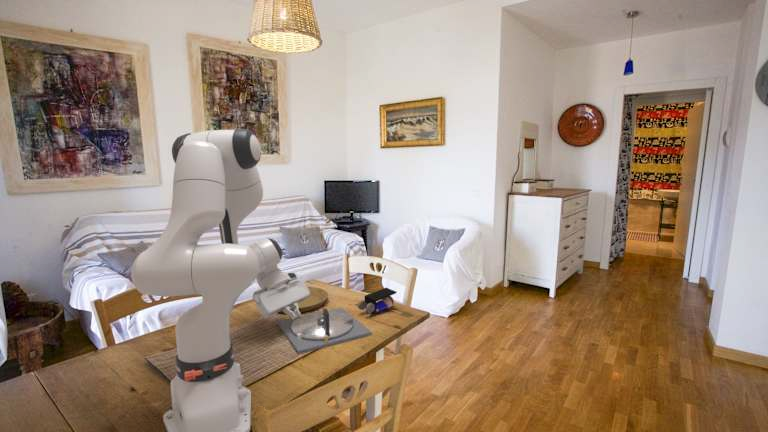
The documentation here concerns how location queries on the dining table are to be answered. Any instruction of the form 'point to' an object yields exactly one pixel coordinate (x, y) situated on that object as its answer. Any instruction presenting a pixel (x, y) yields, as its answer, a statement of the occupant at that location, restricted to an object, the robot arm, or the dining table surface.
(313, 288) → the plant saucer
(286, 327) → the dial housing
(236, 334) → the dining table surface
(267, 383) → the dining table surface
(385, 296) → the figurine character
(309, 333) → the dial
